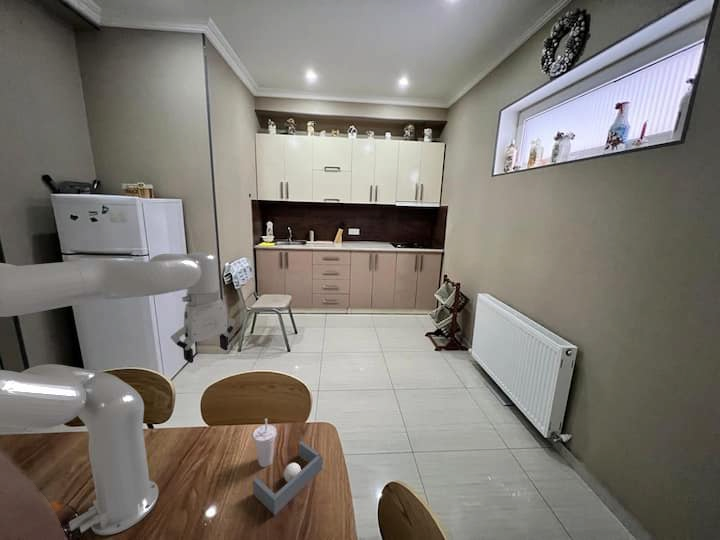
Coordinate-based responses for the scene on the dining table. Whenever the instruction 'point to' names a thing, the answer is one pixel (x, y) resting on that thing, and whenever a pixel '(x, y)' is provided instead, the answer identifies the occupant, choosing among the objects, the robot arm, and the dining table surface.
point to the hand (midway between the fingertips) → (207, 354)
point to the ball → (291, 471)
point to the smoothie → (264, 443)
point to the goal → (294, 485)
